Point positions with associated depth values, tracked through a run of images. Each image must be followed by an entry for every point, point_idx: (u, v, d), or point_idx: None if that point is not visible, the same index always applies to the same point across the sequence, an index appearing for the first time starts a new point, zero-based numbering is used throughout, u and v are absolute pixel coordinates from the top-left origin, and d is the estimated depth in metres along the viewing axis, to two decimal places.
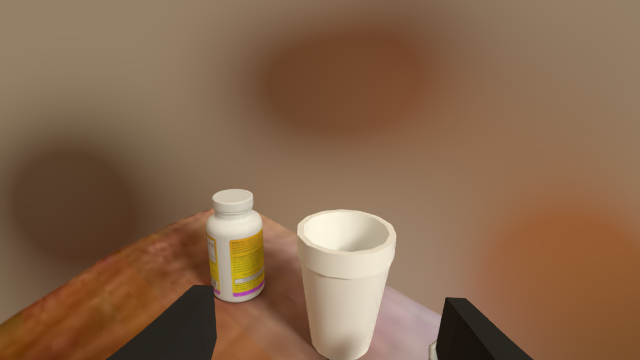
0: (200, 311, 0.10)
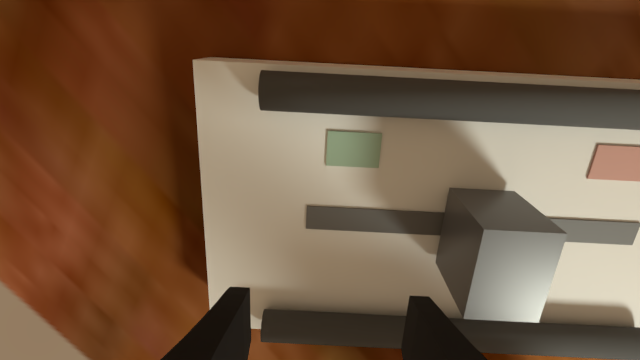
0: (241, 313, 0.10)
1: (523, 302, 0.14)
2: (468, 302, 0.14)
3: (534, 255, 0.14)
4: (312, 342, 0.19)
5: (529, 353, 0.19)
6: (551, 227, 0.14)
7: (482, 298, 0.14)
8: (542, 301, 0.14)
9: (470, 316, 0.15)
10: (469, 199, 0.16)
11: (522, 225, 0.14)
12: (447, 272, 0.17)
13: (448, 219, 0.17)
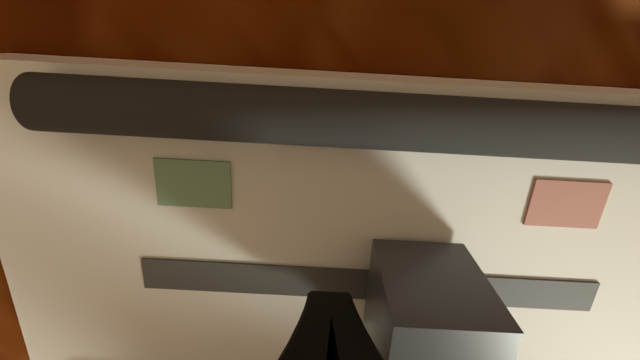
0: None
1: None
2: None
3: None
4: None
5: None
6: (501, 319, 0.09)
7: None
8: None
9: None
10: (393, 261, 0.11)
11: (456, 316, 0.09)
12: None
13: (370, 283, 0.12)
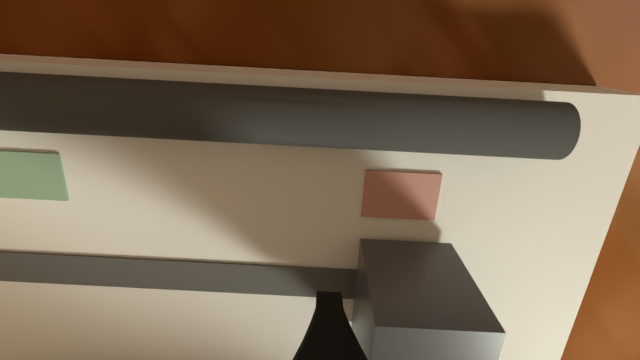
0: None
1: None
2: None
3: None
4: None
5: None
6: (484, 319, 0.09)
7: None
8: None
9: None
10: (379, 260, 0.11)
11: (439, 315, 0.09)
12: None
13: (358, 283, 0.12)
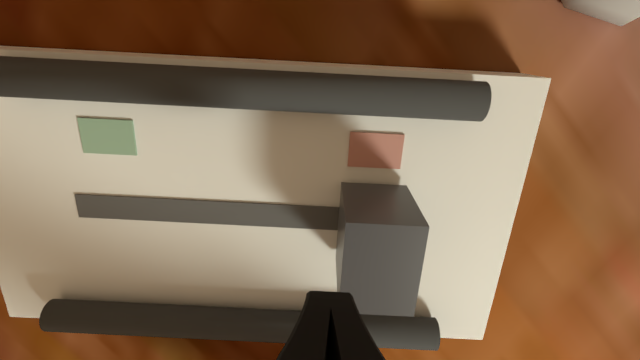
0: (329, 318, 0.10)
1: (395, 296, 0.14)
2: None
3: (399, 248, 0.14)
4: (93, 331, 0.19)
5: None
6: (417, 220, 0.14)
7: (353, 291, 0.14)
8: (414, 295, 0.14)
9: None
10: (353, 193, 0.16)
11: (388, 218, 0.14)
12: (337, 267, 0.17)
13: (339, 213, 0.17)
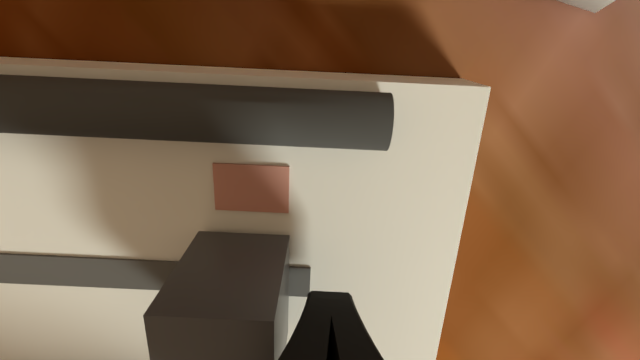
0: None
1: None
2: None
3: (234, 351, 0.09)
4: None
5: None
6: (262, 307, 0.09)
7: None
8: None
9: None
10: (200, 252, 0.11)
11: (218, 304, 0.09)
12: None
13: None
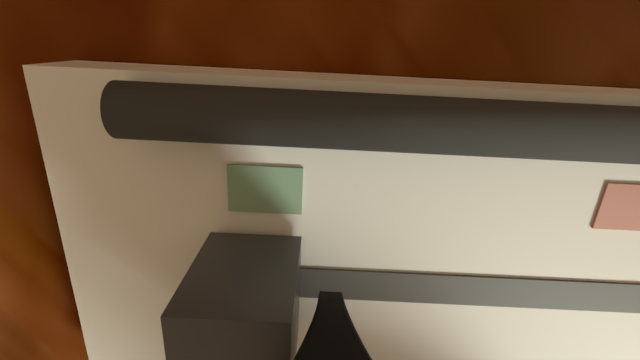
0: None
1: None
2: None
3: (250, 353, 0.09)
4: None
5: None
6: (279, 309, 0.09)
7: None
8: None
9: None
10: (213, 253, 0.11)
11: (235, 306, 0.09)
12: None
13: None
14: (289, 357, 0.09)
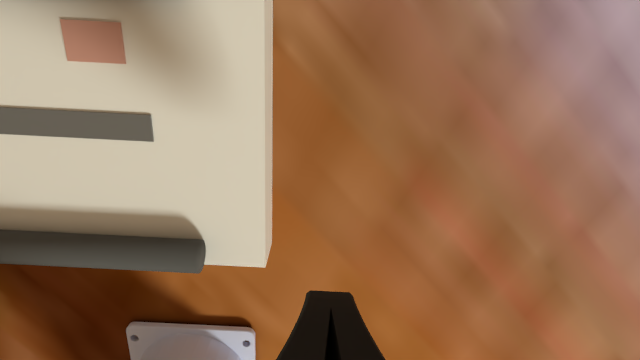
0: (329, 318, 0.10)
1: None
2: None
3: None
4: None
5: (60, 263, 0.17)
6: None
7: None
8: None
9: None
10: None
11: None
12: None
13: None
14: None
